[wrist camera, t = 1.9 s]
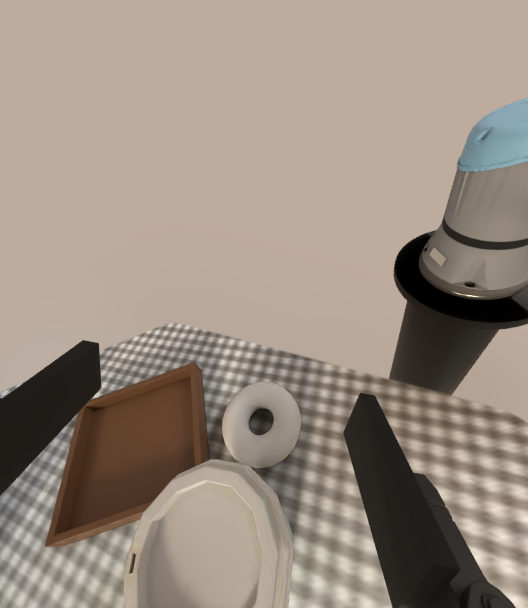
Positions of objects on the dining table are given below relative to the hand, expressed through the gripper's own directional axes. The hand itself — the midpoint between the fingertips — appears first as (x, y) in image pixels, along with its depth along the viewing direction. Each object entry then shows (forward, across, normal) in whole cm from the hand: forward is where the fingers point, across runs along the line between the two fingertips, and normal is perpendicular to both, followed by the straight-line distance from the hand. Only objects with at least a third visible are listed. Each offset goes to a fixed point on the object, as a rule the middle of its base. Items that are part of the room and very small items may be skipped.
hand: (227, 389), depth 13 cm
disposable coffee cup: (+5, +6, -23) cm, 24 cm away
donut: (+15, +5, -18) cm, 24 cm away
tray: (+15, -11, -25) cm, 31 cm away
